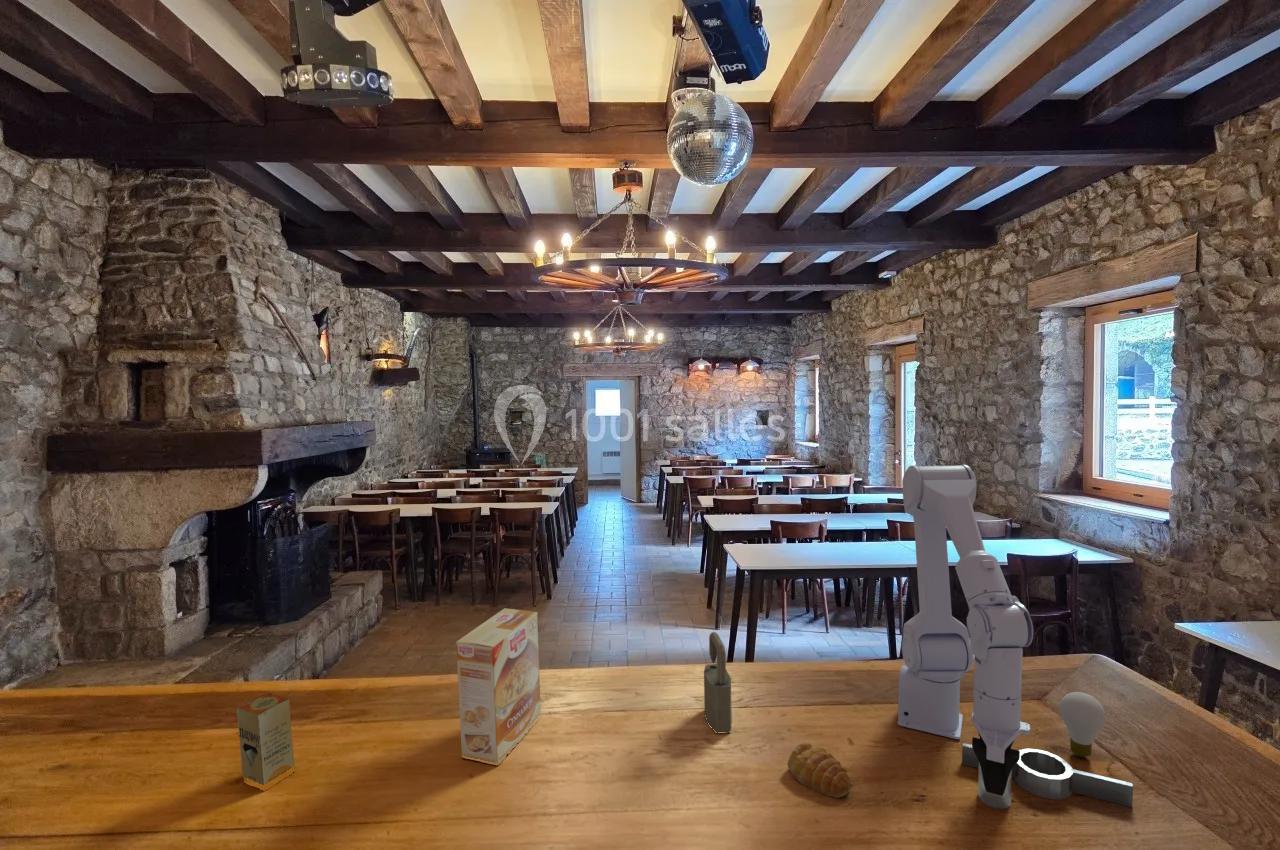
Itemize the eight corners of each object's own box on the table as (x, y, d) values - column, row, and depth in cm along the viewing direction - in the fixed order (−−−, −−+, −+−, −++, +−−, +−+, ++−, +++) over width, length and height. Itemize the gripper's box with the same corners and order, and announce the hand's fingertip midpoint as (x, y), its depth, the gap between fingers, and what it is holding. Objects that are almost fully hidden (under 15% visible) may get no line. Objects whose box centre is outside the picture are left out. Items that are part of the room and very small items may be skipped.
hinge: (960, 775, 95) (961, 756, 95) (963, 750, 101) (963, 732, 101) (1136, 821, 85) (1137, 800, 85) (1127, 790, 91) (1128, 770, 91)
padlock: (723, 707, 116) (722, 626, 115) (735, 732, 108) (734, 646, 106) (701, 709, 115) (700, 628, 114) (712, 734, 107) (710, 648, 106)
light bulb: (1111, 770, 96) (1114, 705, 95) (1067, 766, 97) (1070, 702, 96) (1092, 746, 101) (1095, 686, 101) (1051, 743, 103) (1053, 683, 102)
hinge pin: (977, 803, 89) (978, 755, 89) (978, 786, 93) (979, 740, 92) (1010, 812, 87) (1012, 763, 87) (1010, 795, 91) (1012, 748, 90)
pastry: (862, 789, 93) (863, 764, 93) (831, 808, 90) (831, 782, 89) (812, 757, 101) (812, 734, 101) (782, 773, 97) (781, 749, 97)
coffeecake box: (498, 767, 100) (493, 646, 98) (459, 759, 102) (453, 641, 101) (543, 717, 114) (539, 610, 112) (508, 711, 116) (503, 606, 115)
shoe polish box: (274, 764, 102) (268, 692, 101) (294, 772, 100) (288, 698, 99) (243, 783, 98) (236, 707, 97) (264, 791, 96) (257, 714, 94)
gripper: (1033, 722, 80) (1029, 824, 82) (1029, 673, 93) (1026, 762, 94) (969, 709, 84) (967, 807, 85) (974, 663, 96) (972, 749, 98)
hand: (994, 782), depth 90 cm, fingers closed on hinge pin, 4 cm apart
